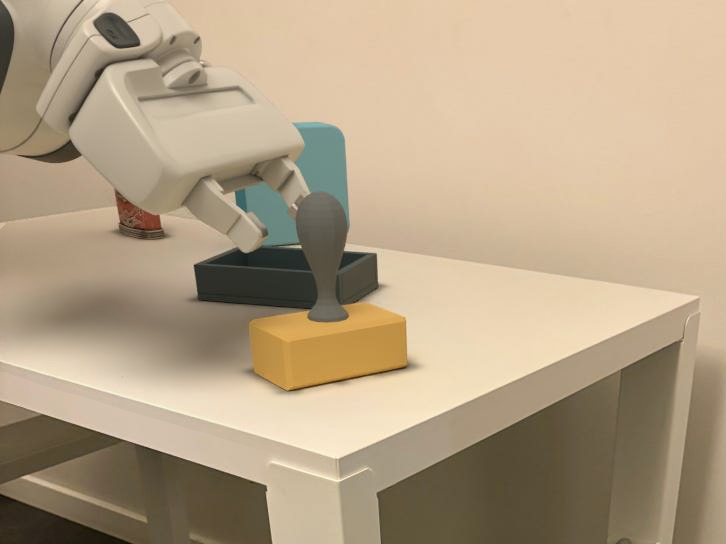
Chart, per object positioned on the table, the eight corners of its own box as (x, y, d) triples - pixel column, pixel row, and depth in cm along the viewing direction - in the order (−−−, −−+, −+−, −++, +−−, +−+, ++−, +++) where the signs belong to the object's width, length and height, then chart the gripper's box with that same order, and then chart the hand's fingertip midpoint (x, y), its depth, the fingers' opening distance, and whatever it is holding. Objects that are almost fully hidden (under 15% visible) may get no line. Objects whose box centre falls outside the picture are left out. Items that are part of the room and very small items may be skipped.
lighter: (113, 230, 118) (96, 137, 113) (139, 227, 120) (124, 136, 115) (144, 240, 113) (128, 143, 108) (171, 236, 115) (157, 141, 110)
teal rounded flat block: (336, 233, 118) (329, 121, 112) (351, 239, 115) (344, 124, 109) (239, 241, 113) (226, 124, 107) (251, 248, 110) (239, 128, 104)
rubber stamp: (369, 349, 77) (360, 181, 70) (409, 367, 73) (404, 191, 66) (252, 371, 72) (231, 192, 65) (289, 392, 68) (271, 203, 61)
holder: (341, 311, 87) (338, 274, 85) (197, 300, 90) (193, 264, 88) (378, 286, 95) (377, 252, 93) (246, 277, 98) (242, 244, 96)
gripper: (188, 95, 75) (319, 238, 78) (17, 115, 58) (192, 296, 61) (234, 26, 71) (369, 178, 75) (67, 26, 55) (250, 222, 58)
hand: (288, 232), depth 68 cm, fingers open, 8 cm apart
